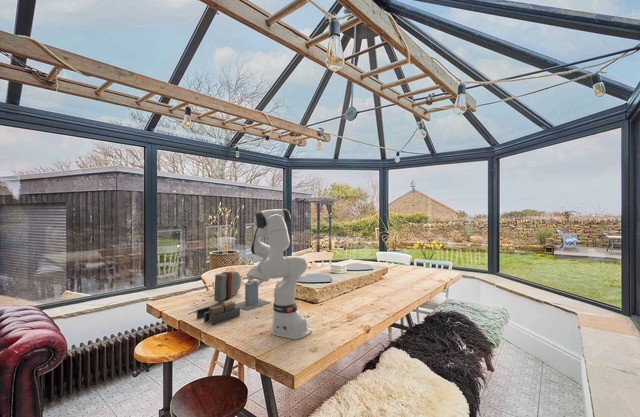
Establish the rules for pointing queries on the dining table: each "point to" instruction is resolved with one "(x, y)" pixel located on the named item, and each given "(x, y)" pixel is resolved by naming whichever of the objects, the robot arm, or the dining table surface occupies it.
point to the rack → (218, 317)
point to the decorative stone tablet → (226, 285)
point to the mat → (248, 307)
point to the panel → (251, 293)
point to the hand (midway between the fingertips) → (252, 284)
